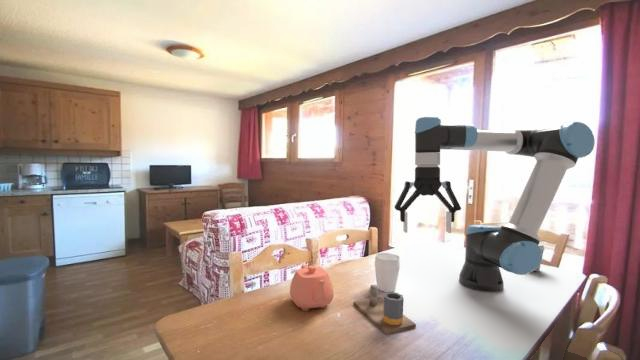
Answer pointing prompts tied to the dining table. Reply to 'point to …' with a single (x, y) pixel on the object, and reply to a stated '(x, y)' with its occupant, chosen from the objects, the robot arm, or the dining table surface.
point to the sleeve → (393, 308)
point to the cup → (387, 271)
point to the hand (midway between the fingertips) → (426, 231)
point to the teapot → (311, 288)
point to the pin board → (380, 313)
